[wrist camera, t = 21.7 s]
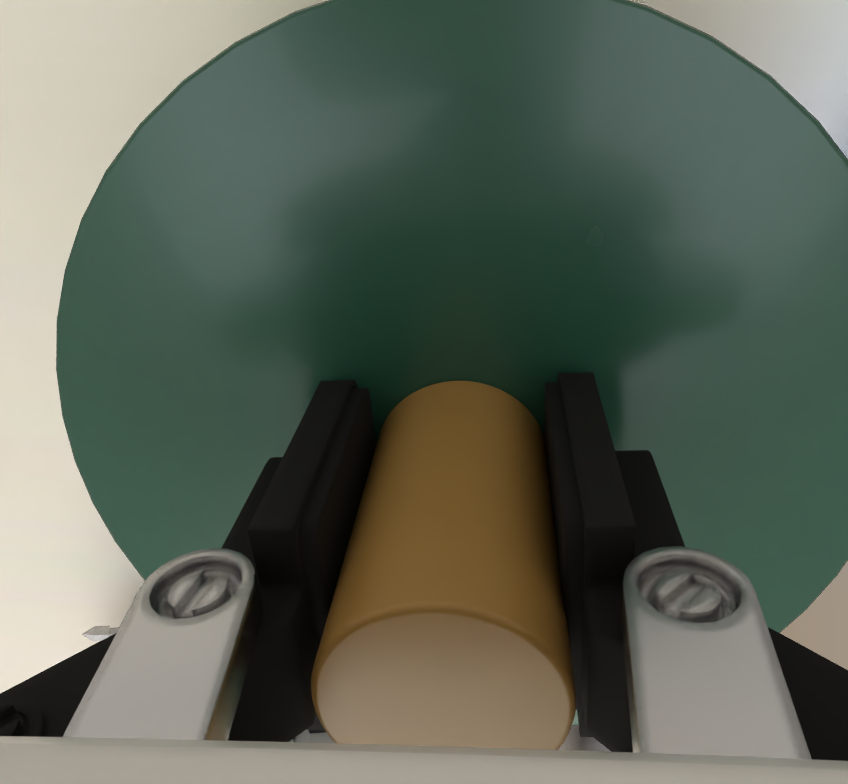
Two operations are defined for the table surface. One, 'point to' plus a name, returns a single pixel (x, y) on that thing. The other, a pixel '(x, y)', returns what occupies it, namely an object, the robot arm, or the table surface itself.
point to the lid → (468, 324)
